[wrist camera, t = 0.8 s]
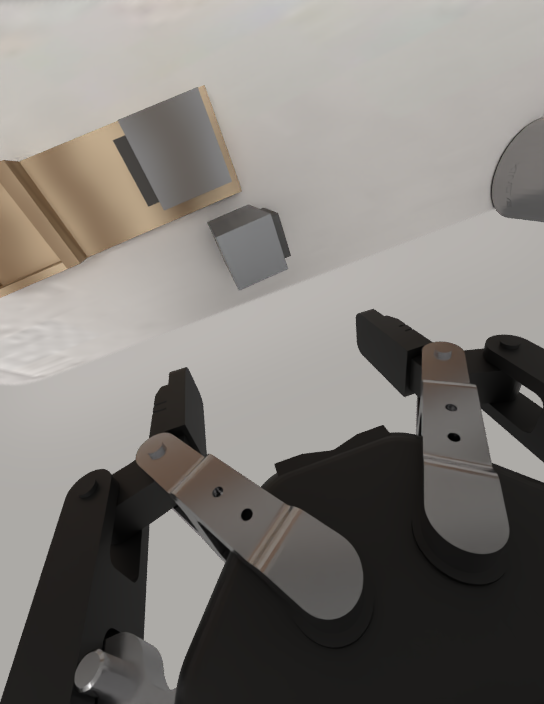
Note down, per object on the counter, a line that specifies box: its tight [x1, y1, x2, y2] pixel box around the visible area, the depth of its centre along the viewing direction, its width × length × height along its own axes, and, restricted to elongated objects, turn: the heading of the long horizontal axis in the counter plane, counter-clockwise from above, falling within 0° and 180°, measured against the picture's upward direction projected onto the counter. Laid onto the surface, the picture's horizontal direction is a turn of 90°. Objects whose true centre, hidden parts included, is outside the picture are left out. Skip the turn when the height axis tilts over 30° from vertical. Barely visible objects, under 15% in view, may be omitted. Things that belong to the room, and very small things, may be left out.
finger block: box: [208, 205, 291, 290], centre depth 24 cm, size 5×4×8 cm
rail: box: [0, 85, 242, 298], centre depth 19 cm, size 21×7×10 cm, turn 110°
